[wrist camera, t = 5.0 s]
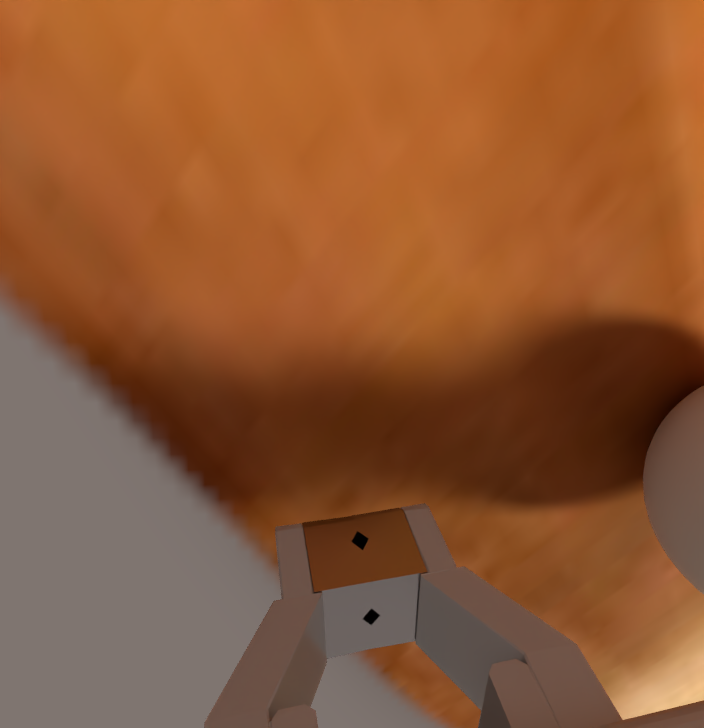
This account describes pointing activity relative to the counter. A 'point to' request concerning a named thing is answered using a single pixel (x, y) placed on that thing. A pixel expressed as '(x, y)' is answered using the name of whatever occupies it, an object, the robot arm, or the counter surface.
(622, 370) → the counter surface
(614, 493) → the counter surface
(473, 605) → the robot arm
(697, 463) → the ball
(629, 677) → the counter surface
